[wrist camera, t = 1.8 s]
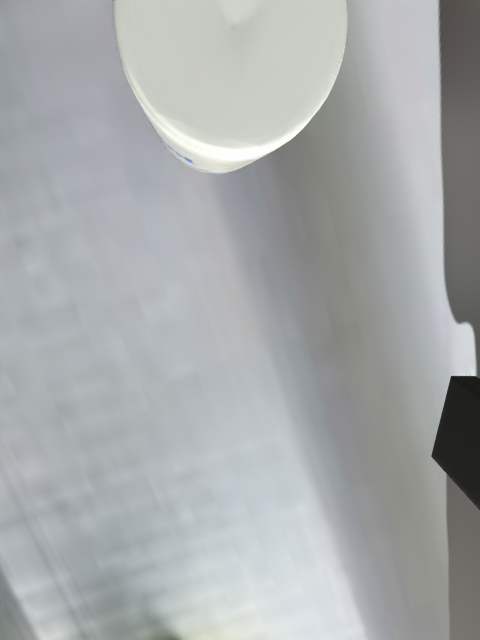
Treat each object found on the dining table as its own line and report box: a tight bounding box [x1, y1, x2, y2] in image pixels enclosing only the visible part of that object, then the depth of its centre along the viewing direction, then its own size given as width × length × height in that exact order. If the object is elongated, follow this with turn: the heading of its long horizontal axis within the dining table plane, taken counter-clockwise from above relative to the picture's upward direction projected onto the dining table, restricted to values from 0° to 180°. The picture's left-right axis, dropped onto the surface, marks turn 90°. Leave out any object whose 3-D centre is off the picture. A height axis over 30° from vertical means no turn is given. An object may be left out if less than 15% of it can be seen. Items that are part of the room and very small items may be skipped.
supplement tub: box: [113, 0, 348, 173], centre depth 21 cm, size 10×10×15 cm
